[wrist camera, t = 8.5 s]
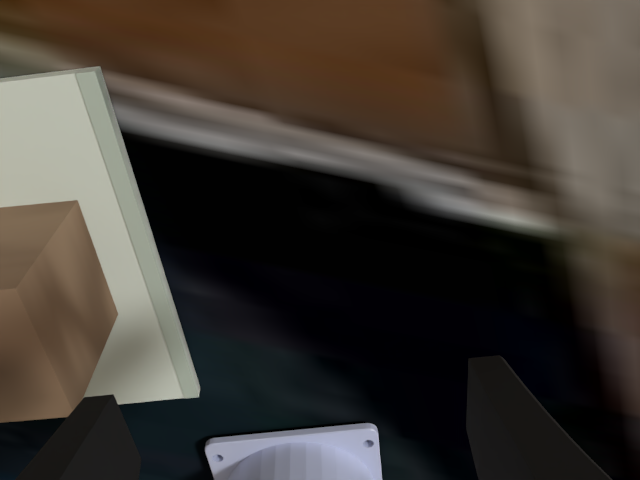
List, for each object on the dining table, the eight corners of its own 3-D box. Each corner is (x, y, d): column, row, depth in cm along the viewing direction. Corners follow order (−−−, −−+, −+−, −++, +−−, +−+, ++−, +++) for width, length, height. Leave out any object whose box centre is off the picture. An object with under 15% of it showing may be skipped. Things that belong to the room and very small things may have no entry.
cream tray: (200, 387, 25) (198, 397, 25) (-1, 408, 26) (-7, 417, 25) (100, 66, 18) (94, 71, 17) (-182, 100, 18) (-194, 106, 18)
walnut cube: (118, 314, 22) (75, 416, 18) (-9, 325, 22) (-82, 429, 18) (77, 200, 20) (15, 288, 15) (-66, 213, 20) (-167, 305, 16)
